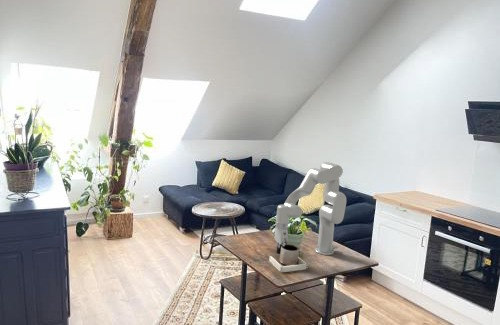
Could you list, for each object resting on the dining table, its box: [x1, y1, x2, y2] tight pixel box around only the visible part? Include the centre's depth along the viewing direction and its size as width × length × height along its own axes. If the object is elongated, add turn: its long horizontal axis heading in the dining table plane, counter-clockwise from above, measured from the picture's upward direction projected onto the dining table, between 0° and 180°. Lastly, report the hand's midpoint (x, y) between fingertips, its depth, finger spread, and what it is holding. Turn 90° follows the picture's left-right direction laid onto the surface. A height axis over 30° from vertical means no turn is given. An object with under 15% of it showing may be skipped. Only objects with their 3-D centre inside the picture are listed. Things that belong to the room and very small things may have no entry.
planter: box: [279, 243, 300, 266], centre depth 223 cm, size 11×11×10 cm
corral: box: [269, 255, 309, 273], centre depth 220 cm, size 17×16×3 cm
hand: (279, 253), depth 229 cm, fingers closed
